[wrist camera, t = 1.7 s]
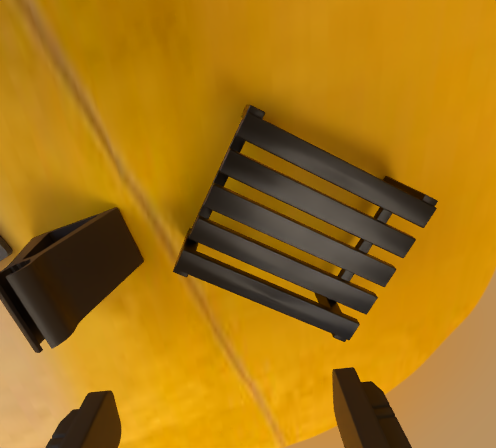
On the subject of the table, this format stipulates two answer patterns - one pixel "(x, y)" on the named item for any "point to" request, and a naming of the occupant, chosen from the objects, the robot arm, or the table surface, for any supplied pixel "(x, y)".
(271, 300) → the rack
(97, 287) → the phone stand
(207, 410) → the table surface
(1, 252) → the calculator
